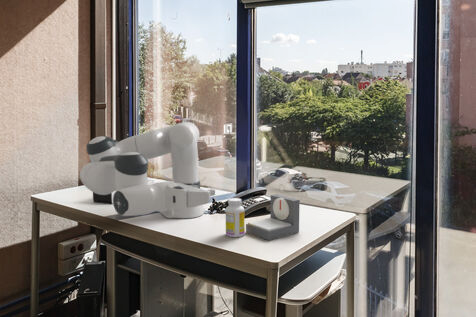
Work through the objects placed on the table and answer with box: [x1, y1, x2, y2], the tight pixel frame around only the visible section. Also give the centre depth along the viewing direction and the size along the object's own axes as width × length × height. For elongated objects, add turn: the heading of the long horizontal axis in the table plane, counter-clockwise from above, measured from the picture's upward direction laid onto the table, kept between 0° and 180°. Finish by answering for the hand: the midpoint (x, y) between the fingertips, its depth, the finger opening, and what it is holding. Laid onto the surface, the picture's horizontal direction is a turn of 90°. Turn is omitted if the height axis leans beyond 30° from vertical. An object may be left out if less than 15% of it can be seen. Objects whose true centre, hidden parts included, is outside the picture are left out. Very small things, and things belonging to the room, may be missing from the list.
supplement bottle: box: [225, 197, 246, 238], centre depth 141 cm, size 7×7×13 cm
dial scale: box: [245, 194, 301, 241], centre depth 144 cm, size 12×15×12 cm
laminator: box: [92, 179, 154, 205], centre depth 205 cm, size 34×12×6 cm, turn 157°
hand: (205, 189), depth 132 cm, fingers open, 8 cm apart
